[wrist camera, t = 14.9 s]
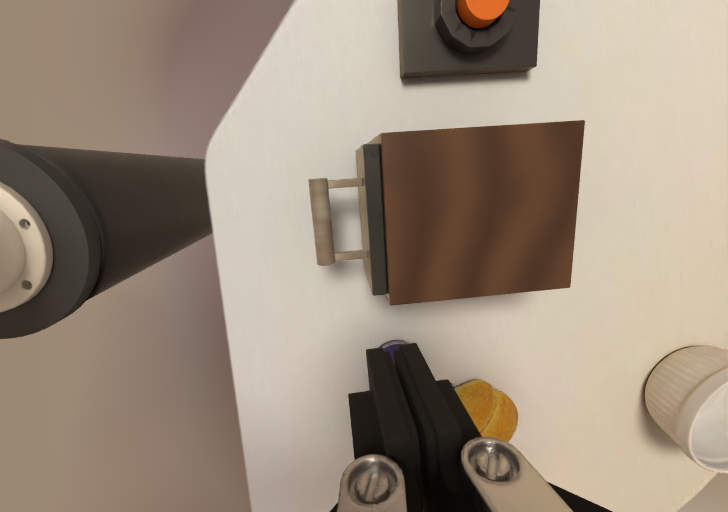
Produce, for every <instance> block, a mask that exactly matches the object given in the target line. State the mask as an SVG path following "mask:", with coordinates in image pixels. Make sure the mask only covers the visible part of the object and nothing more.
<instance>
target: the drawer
mask: <svg viewBox="0 0 728 512" xmlns="http://www.w3.org/2000/svg"><path fill="white" fill-rule="evenodd" d="M356 162H357V176H358V178H356V179H342V180H327V178H319V179H309V190H310V199H311V209H312V218H313V227H314V237H315V246H316V256H317V264H318V265H322V266H325V265H331V264H334V263H335V261H339V260H350V259H361V258H363V261H364V269H365V272H366V275H367V279H368V282H369V285H370V288H371V291H372V294H373V295H383V294H387V293H388V291H387V272H386V254H385V235H384V217H383V198H382V179H381V161H380V145H379V144H378V143H377V144H364V145H362V146H361V147H360V148H359V149H357V150H356ZM354 186H358V190H359V205H360V219H361V233H362V247H363V250H359V251H348V252H336V253H334V245H333V234H332V223H331V213H330V202H329V191H328V188H341V187H354Z"/></svg>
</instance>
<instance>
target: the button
mask: <svg viewBox="0 0 728 512" xmlns="http://www.w3.org/2000/svg"><path fill="white" fill-rule="evenodd" d="M508 3H509V0H457V8H458V13H459V16H460V18H461V19H462V21H463V22H464V23H465V24H466V25H468V26H469V27H472V28H476V29H479V28H484V27H486V26H488V25H490V24H491V23H492V22H493V21H494V20H495V19H496V18H498V17H499V16H500V15H501V14H502V13H503V12H504V10H505V9H506V7H507V5H508Z"/></svg>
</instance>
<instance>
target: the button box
mask: <svg viewBox="0 0 728 512" xmlns="http://www.w3.org/2000/svg"><path fill="white" fill-rule="evenodd" d="M539 9H540V0H509V3H508V5H507V7H506V9H505V10H504V12H503V13H502V14H501V15H500V16H499V17H498V18H496V19H495V20H494V21H493V22H492V23H491V24H490V25H488V26H486V27H484V28H479V29H476V28H472V27H469V26H468V25H466V24H465V23H464V22H463V21H462V19H461V18H460V16H459V13H458V8H457V0H398V26H399V52H400V77H401V78H413V77H432V76H451V75H470V74H489V73H508V72H526V71H528V70H530V69H532V68H534V67H536V66H537V47H538V28H539Z"/></svg>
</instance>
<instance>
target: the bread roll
mask: <svg viewBox="0 0 728 512" xmlns="http://www.w3.org/2000/svg"><path fill="white" fill-rule="evenodd" d="M454 389H455V391H456V393H457V395H458V396H459V398H460V400H461V401H462V403H463V405H464V407H465V408H466V410H467V412H468V413H469V415H470V417H471V419H472V420H473V422H474V424H475V425H476V427H477V429H478V431H479V432H480V434H481V436H482V437H484V436H485V437H495V438H498V439H501V440H504V441H506V442H509V440H510V439H511V438H512V436H513V433H514V432H515V430H516V428H517V423H518V412H517V408H516V406H515V405H514V403H513V402H512V400H511V399H510V398H509V397H508V396H507V395H506V394H504V393H502V392H500V391H498V390H496V389H494V388H493V387H491V385H489V384H488V383H486V382H484V381H482V380H473V381H470V382H467V383H465V384H463V385H460V386H458V387H455V388H454Z"/></svg>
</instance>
